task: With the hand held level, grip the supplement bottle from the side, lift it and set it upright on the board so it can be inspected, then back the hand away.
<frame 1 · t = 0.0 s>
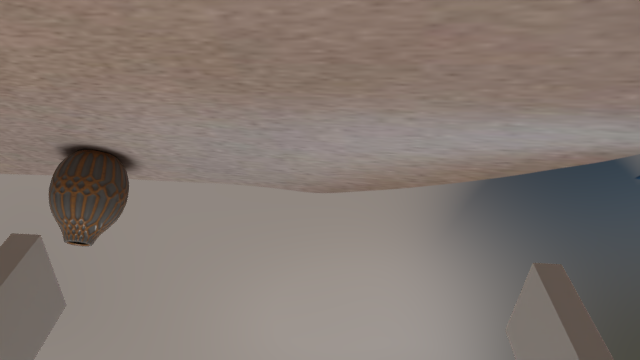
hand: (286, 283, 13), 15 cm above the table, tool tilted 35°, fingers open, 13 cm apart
vase: (98, 155, 48), on the table
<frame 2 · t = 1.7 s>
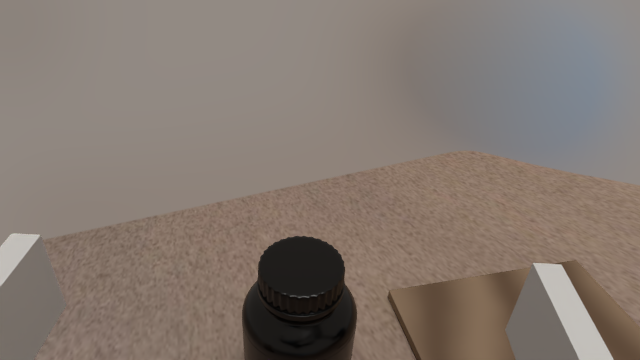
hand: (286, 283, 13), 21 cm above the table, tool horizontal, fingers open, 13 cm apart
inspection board: (531, 348, 36), on the table
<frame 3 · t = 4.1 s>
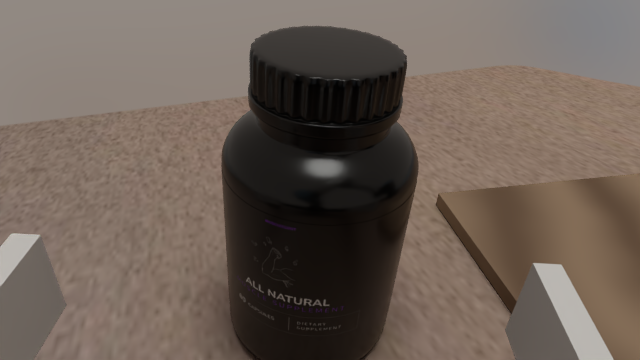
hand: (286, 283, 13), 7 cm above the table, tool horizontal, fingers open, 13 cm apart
supplement bottle: (309, 315, 21), on the table
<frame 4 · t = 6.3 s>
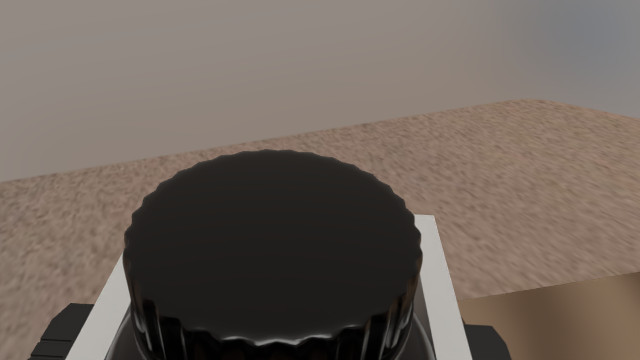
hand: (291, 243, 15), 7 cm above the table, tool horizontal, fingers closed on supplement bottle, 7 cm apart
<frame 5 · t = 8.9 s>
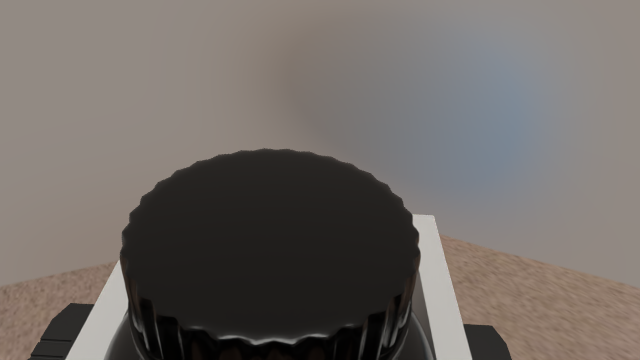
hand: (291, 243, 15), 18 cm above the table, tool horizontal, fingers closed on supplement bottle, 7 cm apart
when the fingers open (9 cm above the table, at t = 11.6 s): supplement bottle drops 1 cm, resting on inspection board.
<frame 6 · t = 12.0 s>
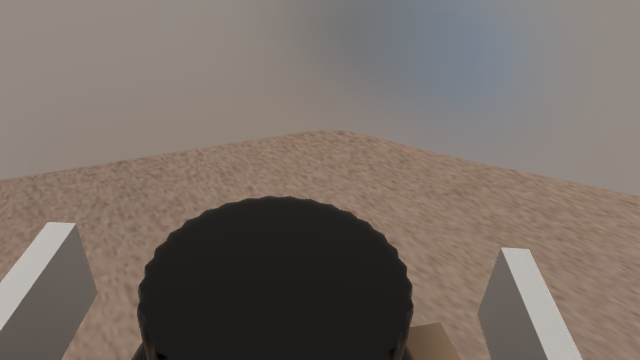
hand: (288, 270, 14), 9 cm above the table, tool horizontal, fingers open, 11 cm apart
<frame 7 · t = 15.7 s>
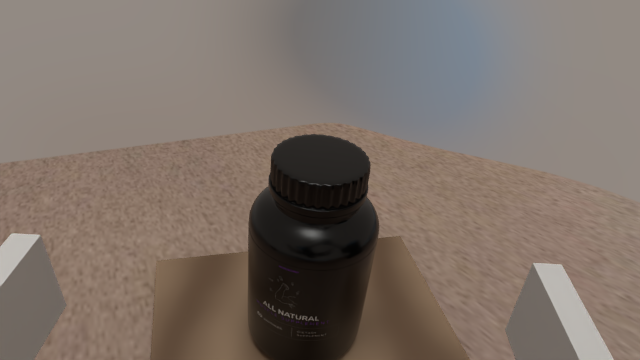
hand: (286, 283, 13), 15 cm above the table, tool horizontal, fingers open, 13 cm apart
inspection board: (304, 332, 30), on the table
supplement bottle: (304, 326, 29), point 1 cm above the table, touching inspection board
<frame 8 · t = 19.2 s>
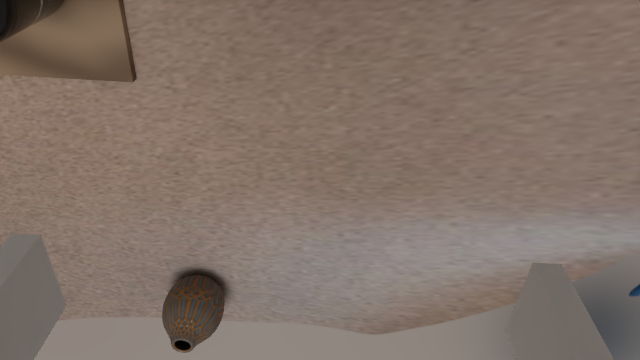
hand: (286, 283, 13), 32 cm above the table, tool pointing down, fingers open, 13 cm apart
vase: (201, 284, 59), on the table
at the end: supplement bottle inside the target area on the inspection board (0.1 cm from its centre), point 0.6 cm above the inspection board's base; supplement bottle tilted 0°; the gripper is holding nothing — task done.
